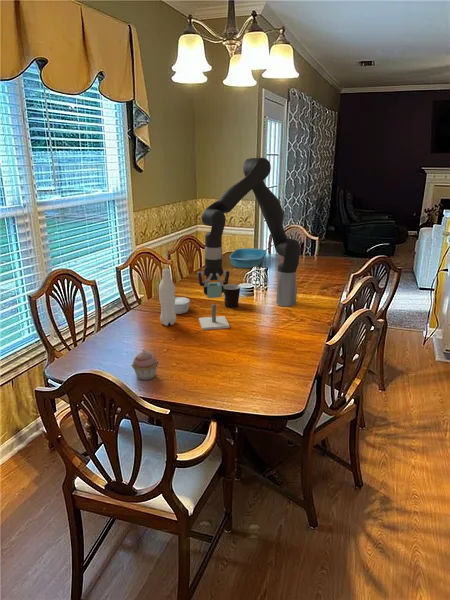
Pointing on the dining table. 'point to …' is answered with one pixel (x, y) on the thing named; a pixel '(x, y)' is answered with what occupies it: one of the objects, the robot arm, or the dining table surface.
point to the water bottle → (167, 299)
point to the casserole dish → (247, 257)
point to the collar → (214, 290)
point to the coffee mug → (231, 295)
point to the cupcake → (145, 365)
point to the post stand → (213, 321)
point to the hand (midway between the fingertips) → (213, 294)
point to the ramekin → (181, 305)
